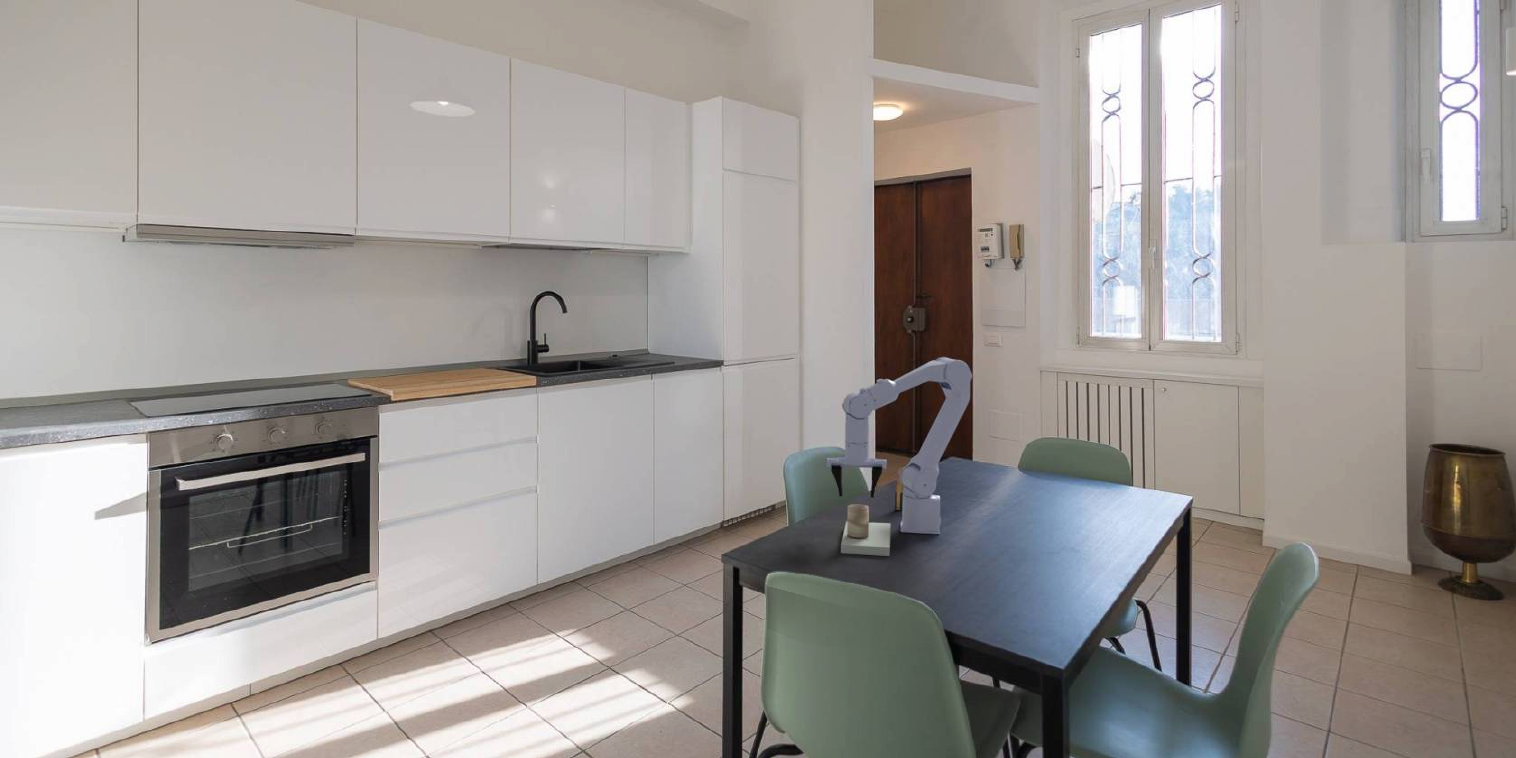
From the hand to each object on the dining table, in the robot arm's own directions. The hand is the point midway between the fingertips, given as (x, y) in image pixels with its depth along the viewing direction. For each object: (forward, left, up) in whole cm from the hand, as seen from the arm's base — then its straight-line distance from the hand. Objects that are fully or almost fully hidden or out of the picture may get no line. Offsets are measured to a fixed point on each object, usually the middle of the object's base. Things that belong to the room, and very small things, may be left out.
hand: (856, 495), depth 186 cm
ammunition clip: (-13, -25, -10) cm, 30 cm away
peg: (-1, +8, -9) cm, 12 cm away
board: (-3, +7, -9) cm, 12 cm away
